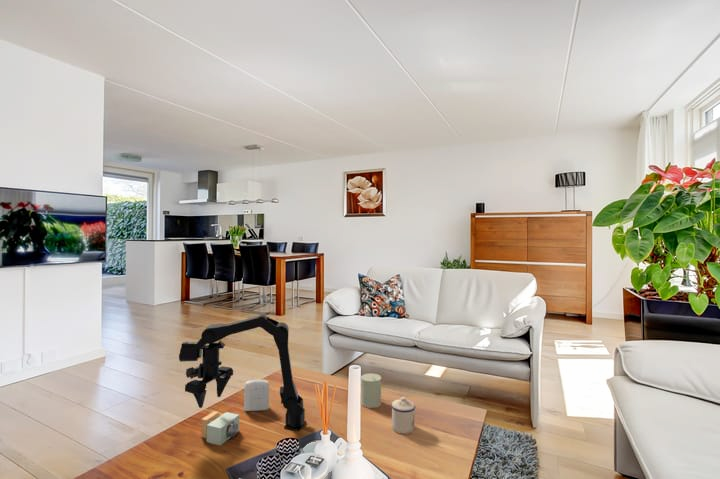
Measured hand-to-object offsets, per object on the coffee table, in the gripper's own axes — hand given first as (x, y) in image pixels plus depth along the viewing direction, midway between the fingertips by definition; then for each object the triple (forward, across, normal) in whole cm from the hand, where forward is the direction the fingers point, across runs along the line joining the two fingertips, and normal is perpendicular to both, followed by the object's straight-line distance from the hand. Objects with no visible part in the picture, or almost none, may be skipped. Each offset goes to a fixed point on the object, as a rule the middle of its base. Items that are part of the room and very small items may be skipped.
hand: (210, 402), depth 129 cm
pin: (+11, 0, +5) cm, 12 cm away
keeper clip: (+12, 0, 0) cm, 12 cm away
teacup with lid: (+11, -30, +66) cm, 73 cm away
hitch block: (+11, 0, +6) cm, 13 cm away
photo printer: (+12, -22, +5) cm, 25 cm away
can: (+11, -44, +49) cm, 67 cm away
